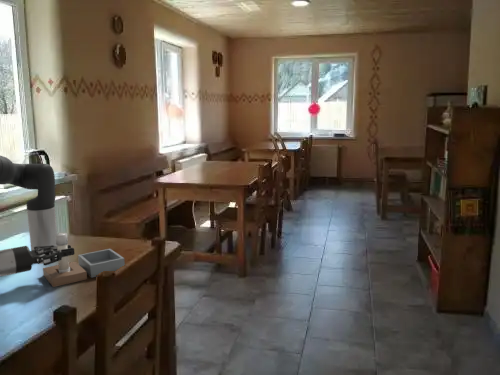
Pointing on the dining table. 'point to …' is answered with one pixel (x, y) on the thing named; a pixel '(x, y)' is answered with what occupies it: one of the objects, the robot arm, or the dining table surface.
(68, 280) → the block
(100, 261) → the parts tray
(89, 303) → the dining table surface
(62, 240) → the fuse
